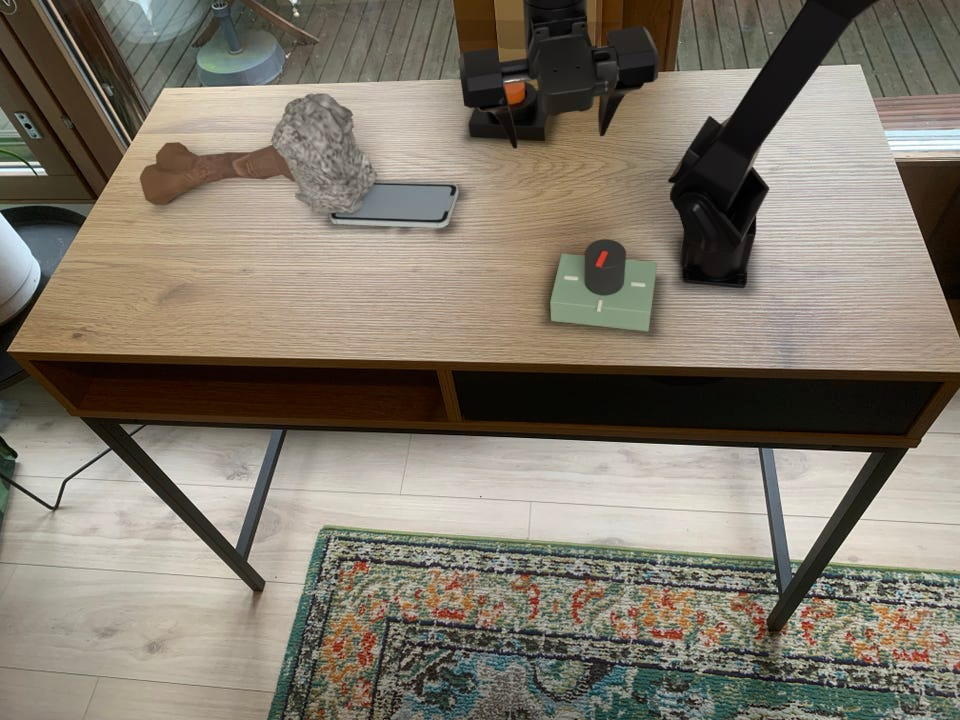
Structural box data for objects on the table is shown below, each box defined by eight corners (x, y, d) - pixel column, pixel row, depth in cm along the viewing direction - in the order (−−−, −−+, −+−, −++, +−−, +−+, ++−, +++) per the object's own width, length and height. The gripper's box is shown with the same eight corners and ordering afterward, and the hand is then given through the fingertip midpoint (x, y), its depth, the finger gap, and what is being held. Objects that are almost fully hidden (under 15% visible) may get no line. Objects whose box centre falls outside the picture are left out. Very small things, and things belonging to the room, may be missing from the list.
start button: (527, 89, 97) (526, 77, 95) (522, 106, 95) (521, 93, 93) (500, 88, 98) (499, 76, 96) (494, 104, 96) (493, 92, 94)
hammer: (202, 176, 104) (395, 161, 93) (178, 237, 100) (376, 228, 89) (127, 98, 91) (340, 71, 81) (96, 164, 87) (316, 144, 77)
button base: (555, 105, 100) (554, 78, 97) (544, 141, 96) (543, 114, 93) (483, 102, 102) (480, 75, 99) (470, 137, 98) (466, 111, 95)
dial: (592, 263, 78) (592, 233, 74) (629, 272, 76) (631, 241, 73) (578, 290, 75) (578, 260, 72) (616, 299, 74) (618, 269, 71)
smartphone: (345, 180, 94) (459, 183, 91) (347, 186, 95) (460, 189, 92) (327, 220, 90) (446, 224, 86) (329, 226, 91) (447, 230, 87)
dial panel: (655, 277, 79) (657, 256, 77) (647, 336, 75) (650, 315, 72) (562, 269, 82) (562, 248, 79) (549, 325, 77) (548, 305, 75)
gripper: (457, 57, 61) (477, 202, 74) (682, 24, 61) (664, 176, 73) (448, -8, 68) (468, 135, 80) (651, -39, 68) (639, 110, 80)
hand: (558, 140), depth 78 cm, fingers open, 9 cm apart
